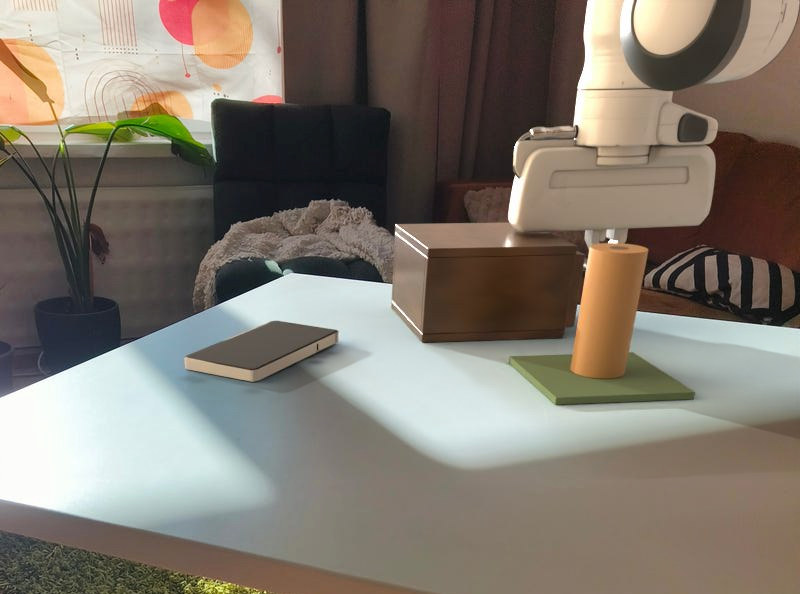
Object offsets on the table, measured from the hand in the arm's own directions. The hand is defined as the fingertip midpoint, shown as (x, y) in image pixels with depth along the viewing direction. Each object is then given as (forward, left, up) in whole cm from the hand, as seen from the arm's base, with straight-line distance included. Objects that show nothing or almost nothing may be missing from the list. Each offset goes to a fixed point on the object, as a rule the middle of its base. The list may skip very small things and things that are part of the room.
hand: (599, 275), depth 94 cm
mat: (+8, +21, -4) cm, 23 cm away
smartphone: (+36, +10, -5) cm, 38 cm away
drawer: (+10, 0, -4) cm, 10 cm away
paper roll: (+8, +21, -4) cm, 22 cm away
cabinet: (+13, 0, -4) cm, 14 cm away
